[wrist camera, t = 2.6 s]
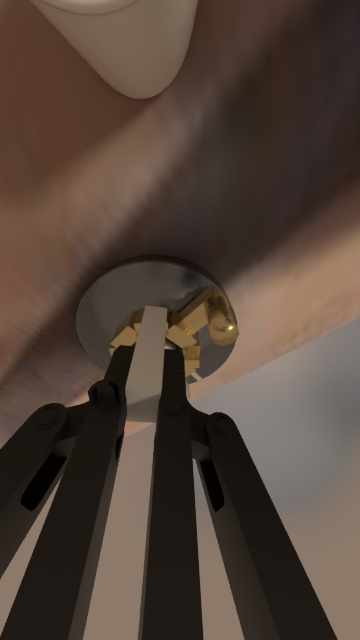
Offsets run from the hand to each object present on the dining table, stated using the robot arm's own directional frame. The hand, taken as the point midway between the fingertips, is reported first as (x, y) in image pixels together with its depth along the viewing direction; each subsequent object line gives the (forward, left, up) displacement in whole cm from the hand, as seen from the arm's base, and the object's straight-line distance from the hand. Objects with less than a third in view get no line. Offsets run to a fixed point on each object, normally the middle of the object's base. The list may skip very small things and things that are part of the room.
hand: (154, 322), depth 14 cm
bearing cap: (+8, +6, -12) cm, 15 cm away
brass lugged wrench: (+5, +6, -9) cm, 12 cm away
